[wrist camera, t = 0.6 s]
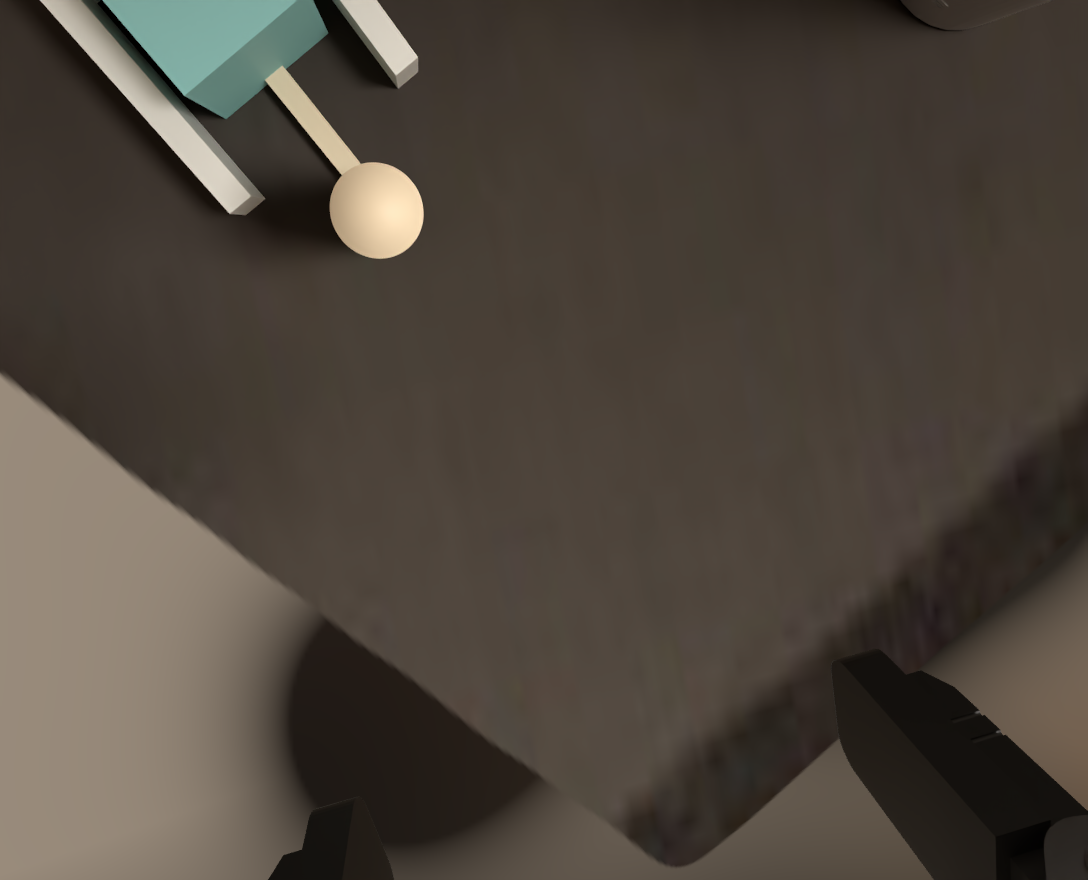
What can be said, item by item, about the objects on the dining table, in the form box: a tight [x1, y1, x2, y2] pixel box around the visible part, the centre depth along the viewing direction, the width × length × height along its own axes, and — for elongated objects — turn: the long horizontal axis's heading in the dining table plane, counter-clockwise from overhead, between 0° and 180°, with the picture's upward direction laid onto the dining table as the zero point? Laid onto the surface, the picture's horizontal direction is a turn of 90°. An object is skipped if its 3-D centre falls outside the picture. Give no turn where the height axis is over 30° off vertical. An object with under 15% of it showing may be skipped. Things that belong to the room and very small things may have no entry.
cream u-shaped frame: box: [40, 0, 418, 215], centre depth 30 cm, size 10×11×3 cm
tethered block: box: [103, 0, 423, 259], centre depth 28 cm, size 6×15×10 cm, turn 37°
